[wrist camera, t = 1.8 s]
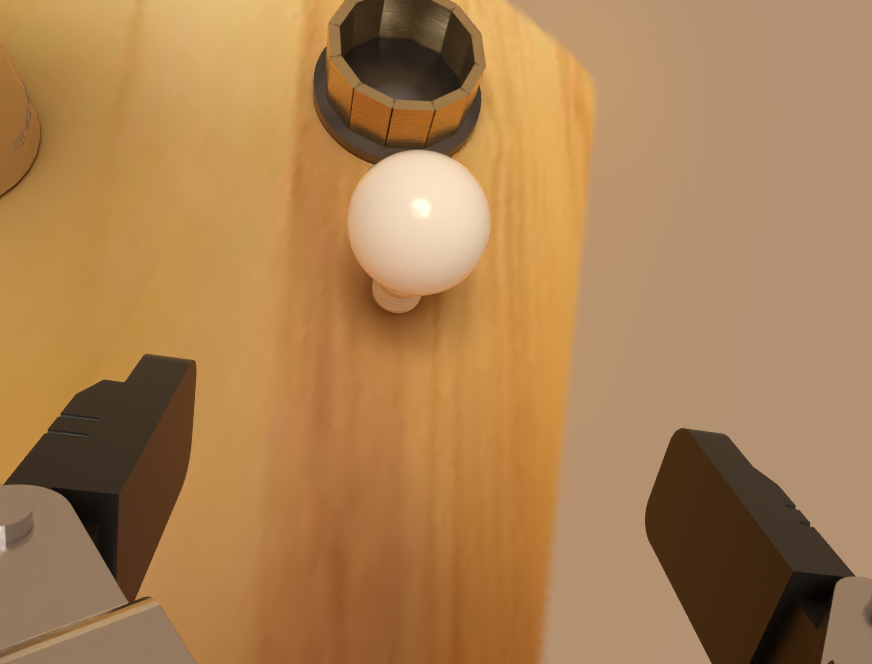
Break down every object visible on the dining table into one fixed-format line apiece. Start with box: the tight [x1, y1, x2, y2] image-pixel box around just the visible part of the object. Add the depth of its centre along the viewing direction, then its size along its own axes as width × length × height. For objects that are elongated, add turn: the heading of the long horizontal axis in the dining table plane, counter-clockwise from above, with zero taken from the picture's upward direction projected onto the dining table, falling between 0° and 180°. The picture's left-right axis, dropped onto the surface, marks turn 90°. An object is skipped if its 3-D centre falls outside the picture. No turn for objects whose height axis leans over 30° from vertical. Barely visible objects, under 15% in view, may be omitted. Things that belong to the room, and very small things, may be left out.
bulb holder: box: [313, 0, 486, 164], centre depth 42 cm, size 10×10×4 cm
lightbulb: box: [347, 150, 491, 313], centre depth 34 cm, size 6×6×11 cm
